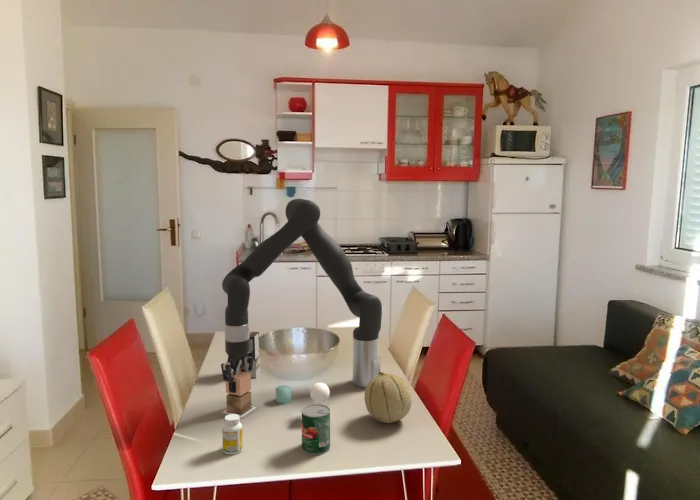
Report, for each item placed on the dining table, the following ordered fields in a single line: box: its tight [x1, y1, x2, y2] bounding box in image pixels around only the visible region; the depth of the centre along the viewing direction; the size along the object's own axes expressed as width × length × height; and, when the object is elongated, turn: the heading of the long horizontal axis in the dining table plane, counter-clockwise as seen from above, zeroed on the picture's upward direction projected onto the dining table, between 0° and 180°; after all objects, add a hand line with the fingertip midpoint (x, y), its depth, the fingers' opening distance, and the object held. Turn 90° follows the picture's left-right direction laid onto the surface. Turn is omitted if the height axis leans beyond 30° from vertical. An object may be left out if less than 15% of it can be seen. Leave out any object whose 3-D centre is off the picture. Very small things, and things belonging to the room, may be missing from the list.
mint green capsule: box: [275, 384, 292, 405], centre depth 174 cm, size 5×5×5 cm
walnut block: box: [225, 390, 252, 415], centre depth 167 cm, size 6×6×6 cm
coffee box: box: [232, 331, 261, 379], centre depth 197 cm, size 9×6×16 cm
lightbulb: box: [309, 382, 330, 406], centre depth 163 cm, size 6×6×11 cm
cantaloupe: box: [364, 371, 413, 424], centre depth 160 cm, size 15×15×15 cm
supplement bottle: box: [221, 414, 244, 456], centre depth 143 cm, size 5×5×10 cm
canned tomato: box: [300, 403, 331, 456], centre depth 144 cm, size 8×8×11 cm
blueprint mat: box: [216, 404, 261, 420], centre depth 167 cm, size 10×10×1 cm
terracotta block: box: [225, 371, 252, 396], centre depth 166 cm, size 6×6×6 cm
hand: (238, 388), depth 166 cm, fingers closed on terracotta block, 5 cm apart
